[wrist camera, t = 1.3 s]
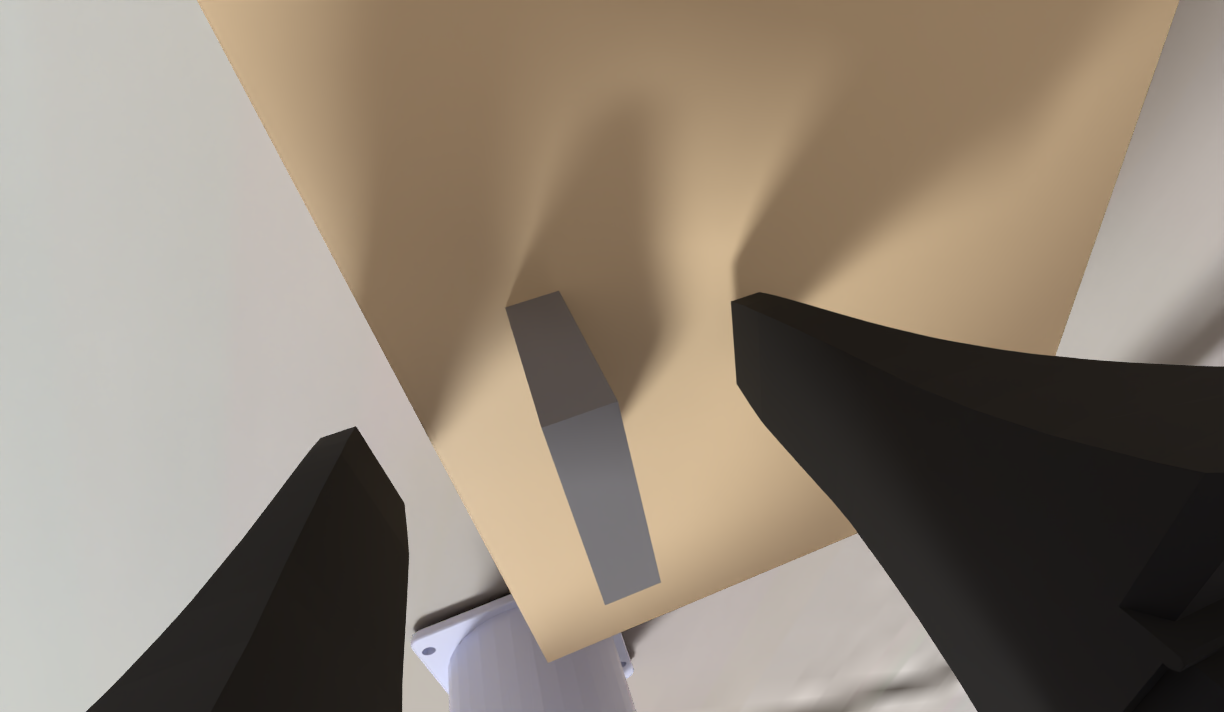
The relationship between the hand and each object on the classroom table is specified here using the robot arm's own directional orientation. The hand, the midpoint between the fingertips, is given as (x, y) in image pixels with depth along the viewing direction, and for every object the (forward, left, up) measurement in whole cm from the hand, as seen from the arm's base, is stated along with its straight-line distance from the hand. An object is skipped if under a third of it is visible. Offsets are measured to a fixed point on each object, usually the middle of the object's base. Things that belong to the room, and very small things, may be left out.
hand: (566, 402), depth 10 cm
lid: (0, -5, -1) cm, 6 cm away
